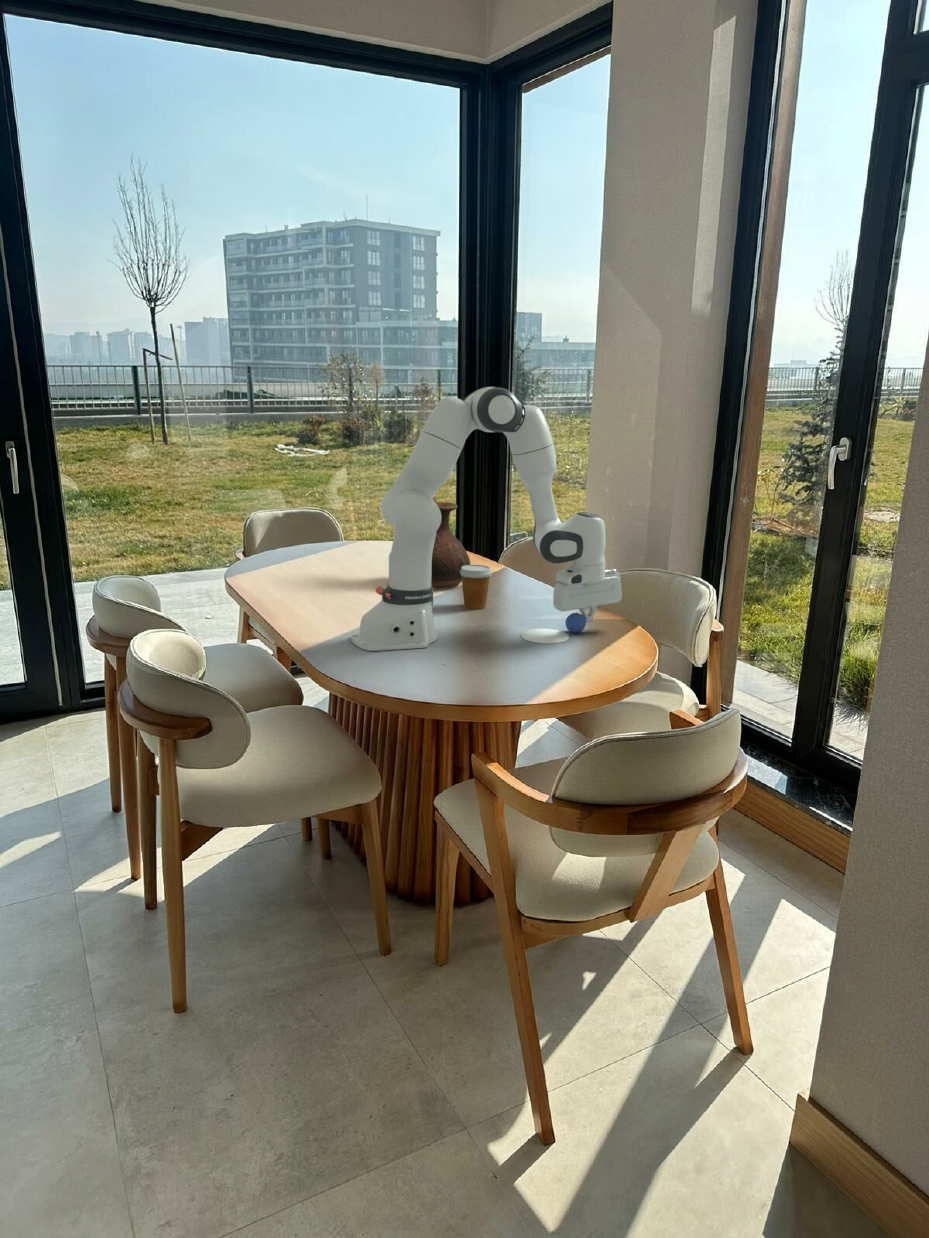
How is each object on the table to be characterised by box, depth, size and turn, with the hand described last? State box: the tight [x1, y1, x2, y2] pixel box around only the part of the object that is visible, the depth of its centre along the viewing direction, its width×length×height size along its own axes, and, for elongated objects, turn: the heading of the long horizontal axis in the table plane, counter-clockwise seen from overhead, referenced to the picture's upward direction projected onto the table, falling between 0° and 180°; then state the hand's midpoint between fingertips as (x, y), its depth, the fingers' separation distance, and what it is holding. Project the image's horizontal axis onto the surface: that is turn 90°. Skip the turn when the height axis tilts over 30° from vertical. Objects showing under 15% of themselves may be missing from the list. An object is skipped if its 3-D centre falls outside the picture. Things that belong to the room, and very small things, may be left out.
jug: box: [431, 496, 472, 590], centre depth 283 cm, size 22×22×30 cm
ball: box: [565, 612, 587, 634], centre depth 236 cm, size 6×6×6 cm
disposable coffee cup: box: [460, 564, 493, 610], centre depth 259 cm, size 10×10×12 cm
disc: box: [520, 628, 570, 645], centre depth 233 cm, size 13×13×1 cm
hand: (587, 621), depth 238 cm, fingers closed
